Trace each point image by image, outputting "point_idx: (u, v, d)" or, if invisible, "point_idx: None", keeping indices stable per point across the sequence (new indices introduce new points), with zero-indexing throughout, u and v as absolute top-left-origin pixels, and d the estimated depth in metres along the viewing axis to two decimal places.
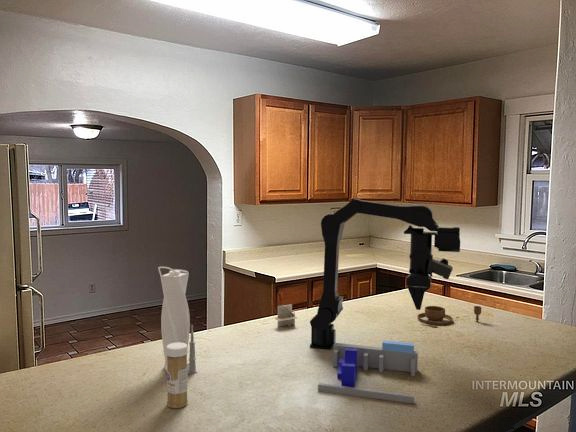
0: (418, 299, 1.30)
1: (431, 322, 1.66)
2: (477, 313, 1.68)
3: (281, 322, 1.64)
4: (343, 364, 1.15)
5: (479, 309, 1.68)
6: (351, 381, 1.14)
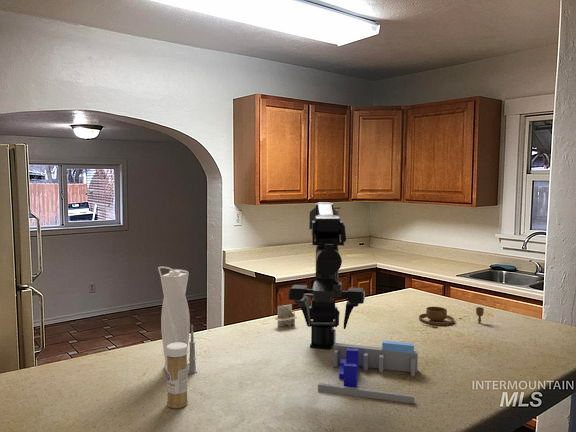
0: None
1: (432, 323, 1.66)
2: (479, 314, 1.67)
3: (281, 322, 1.64)
4: (345, 364, 1.15)
5: (481, 310, 1.67)
6: (353, 381, 1.14)
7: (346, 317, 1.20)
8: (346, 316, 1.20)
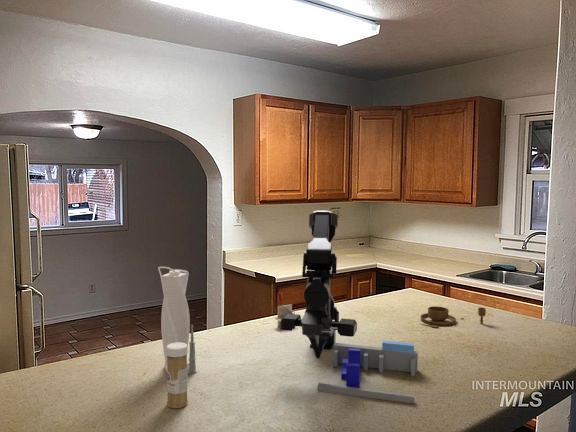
0: None
1: (433, 322, 1.65)
2: (481, 315, 1.66)
3: None
4: (348, 364, 1.15)
5: (483, 311, 1.66)
6: (356, 381, 1.14)
7: (320, 347, 1.21)
8: (320, 346, 1.21)
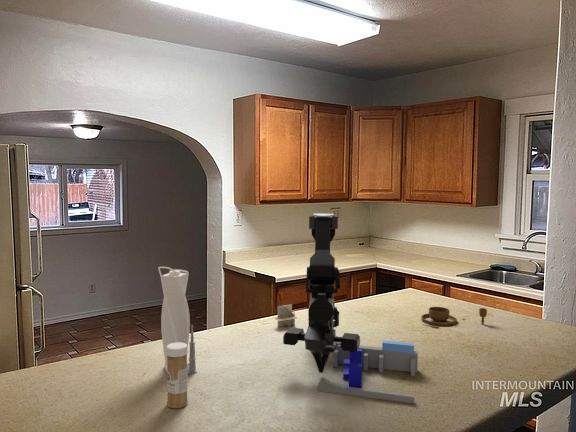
0: None
1: (433, 323, 1.65)
2: (482, 315, 1.66)
3: (281, 322, 1.64)
4: (350, 364, 1.15)
5: (484, 311, 1.65)
6: (358, 381, 1.14)
7: (323, 361, 1.21)
8: (323, 360, 1.21)
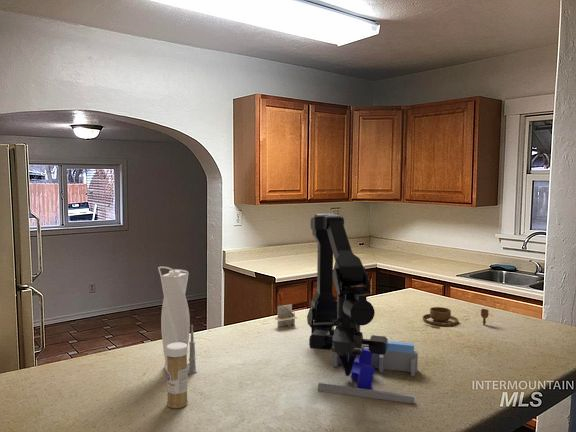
0: None
1: (434, 323, 1.65)
2: (484, 316, 1.65)
3: (281, 322, 1.64)
4: (363, 364, 1.14)
5: (486, 312, 1.65)
6: (369, 382, 1.13)
7: (350, 364, 1.19)
8: (350, 363, 1.19)
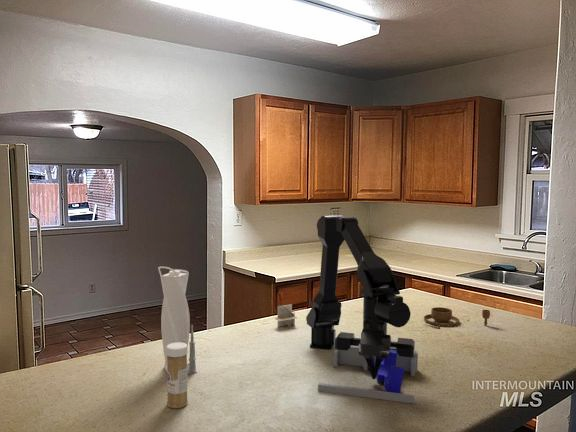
0: None
1: (434, 323, 1.65)
2: (485, 317, 1.64)
3: (281, 322, 1.64)
4: (392, 366, 1.13)
5: (487, 313, 1.64)
6: (398, 384, 1.12)
7: (376, 367, 1.17)
8: (376, 366, 1.17)
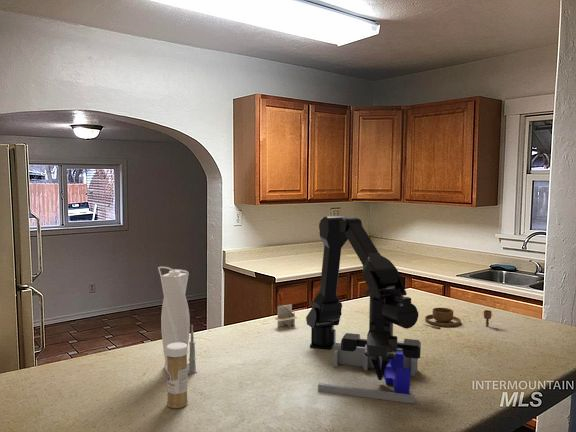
0: None
1: (435, 323, 1.65)
2: (486, 317, 1.63)
3: (281, 322, 1.64)
4: (398, 368, 1.12)
5: (488, 313, 1.63)
6: (406, 386, 1.11)
7: (382, 368, 1.16)
8: (382, 367, 1.16)
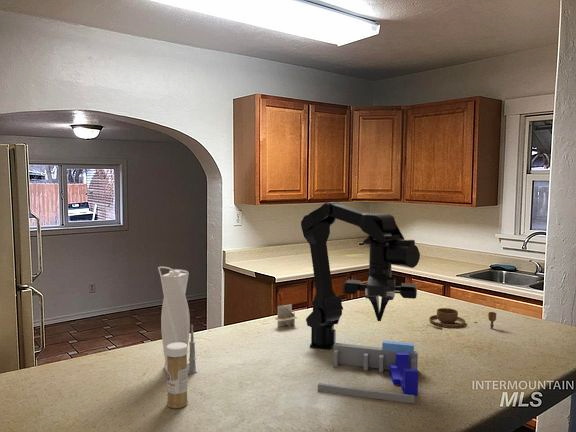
0: None
1: (438, 324, 1.64)
2: (491, 319, 1.61)
3: (281, 322, 1.64)
4: (406, 369, 1.12)
5: (493, 315, 1.60)
6: (415, 386, 1.11)
7: (381, 310, 1.26)
8: (381, 309, 1.26)
